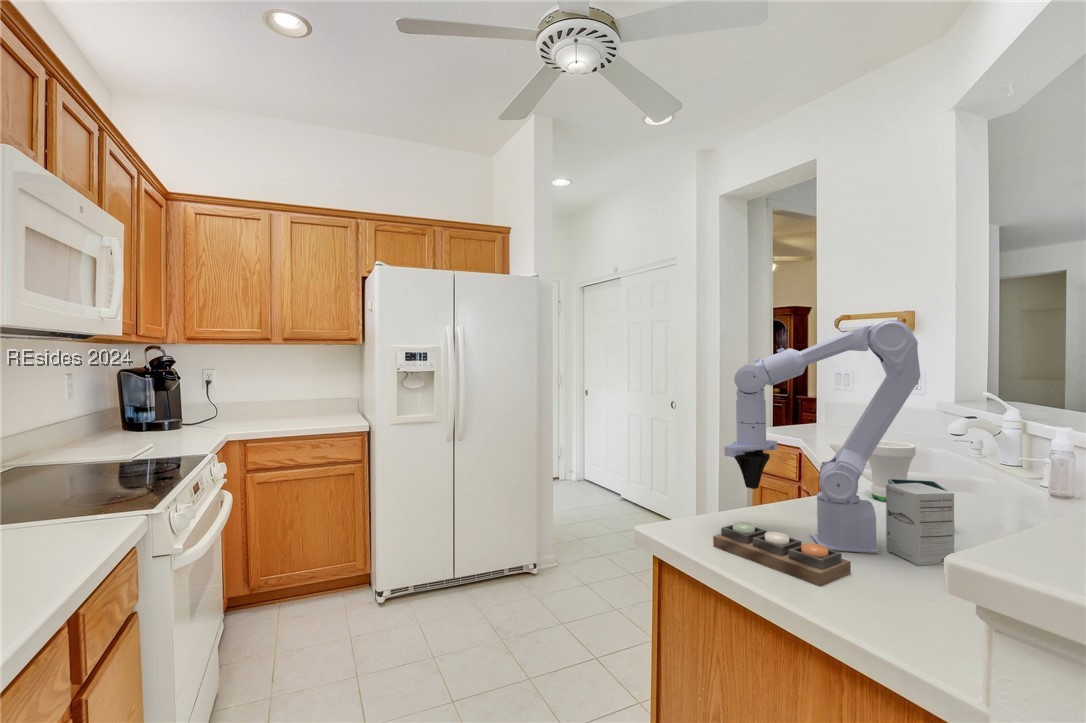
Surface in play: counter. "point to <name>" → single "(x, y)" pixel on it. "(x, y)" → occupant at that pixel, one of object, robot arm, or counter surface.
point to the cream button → (777, 538)
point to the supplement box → (919, 522)
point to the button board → (783, 556)
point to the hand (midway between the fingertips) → (751, 487)
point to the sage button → (743, 527)
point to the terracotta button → (814, 550)
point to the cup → (889, 465)
